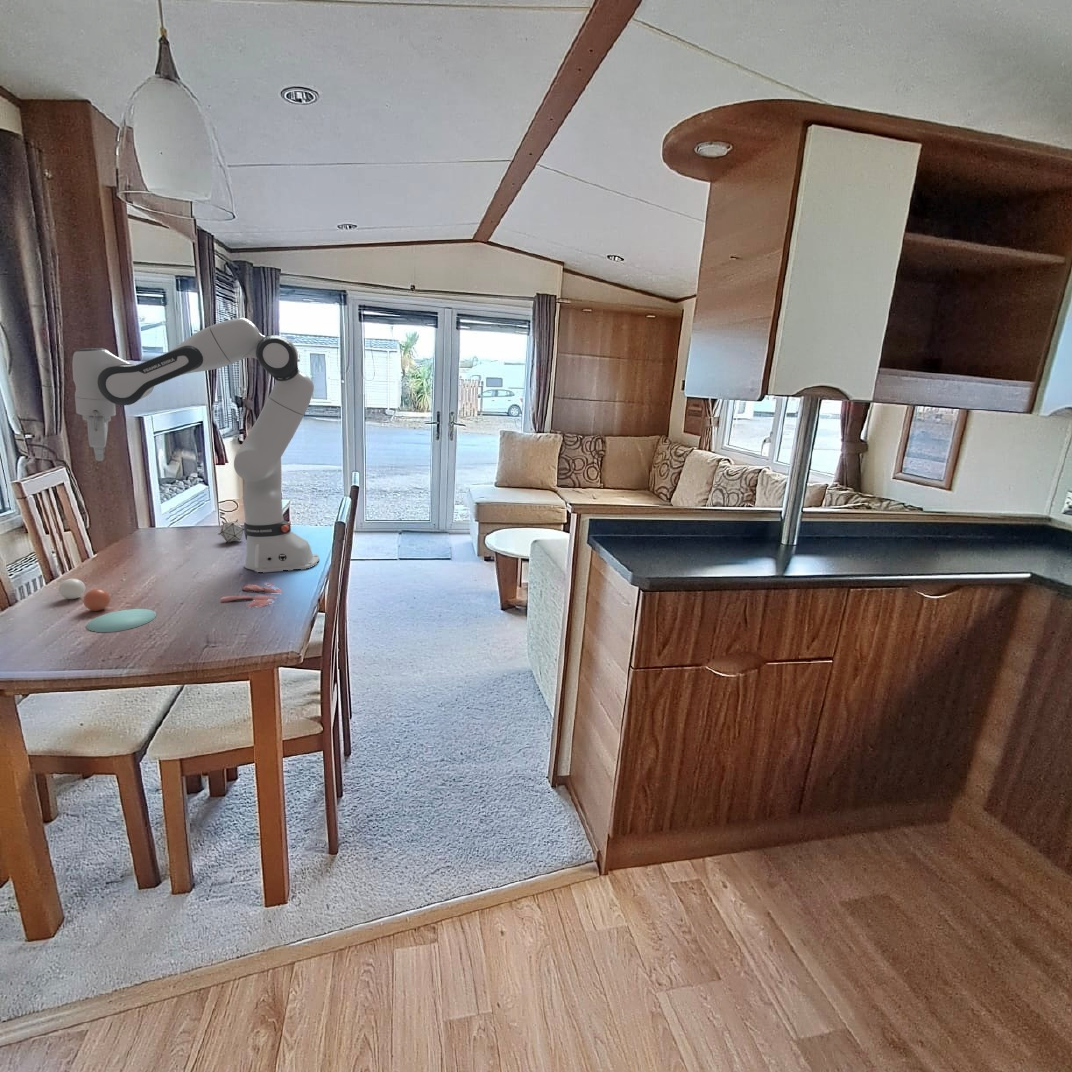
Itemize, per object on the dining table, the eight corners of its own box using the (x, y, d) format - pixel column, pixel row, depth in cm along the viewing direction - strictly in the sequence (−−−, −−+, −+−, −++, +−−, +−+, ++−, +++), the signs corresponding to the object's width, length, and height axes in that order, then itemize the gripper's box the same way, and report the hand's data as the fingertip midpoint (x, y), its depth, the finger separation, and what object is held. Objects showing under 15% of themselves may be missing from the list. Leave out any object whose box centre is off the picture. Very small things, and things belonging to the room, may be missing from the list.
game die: (237, 552, 210) (239, 535, 204) (213, 545, 208) (214, 527, 202) (248, 535, 217) (250, 518, 210) (224, 528, 215) (225, 510, 208)
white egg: (91, 594, 157) (87, 575, 156) (79, 601, 152) (75, 582, 151) (69, 595, 156) (65, 576, 155) (56, 602, 151) (51, 582, 150)
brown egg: (116, 605, 150) (113, 585, 149) (104, 613, 145) (101, 593, 144) (93, 606, 149) (89, 586, 148) (80, 614, 144) (76, 593, 143)
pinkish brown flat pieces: (263, 614, 149) (263, 605, 149) (189, 606, 153) (188, 598, 152) (307, 588, 169) (307, 580, 168) (240, 581, 172) (239, 574, 172)
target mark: (166, 608, 149) (166, 607, 149) (139, 631, 136) (138, 630, 136) (106, 610, 147) (106, 609, 147) (73, 633, 134) (73, 632, 134)
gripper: (109, 414, 154) (113, 465, 158) (110, 403, 169) (114, 449, 174) (79, 413, 150) (84, 465, 154) (83, 401, 166) (87, 449, 170)
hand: (100, 456), depth 164 cm, fingers open, 8 cm apart
